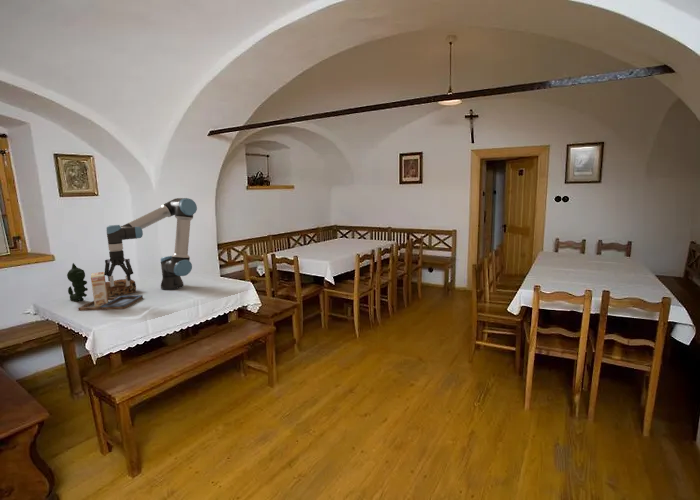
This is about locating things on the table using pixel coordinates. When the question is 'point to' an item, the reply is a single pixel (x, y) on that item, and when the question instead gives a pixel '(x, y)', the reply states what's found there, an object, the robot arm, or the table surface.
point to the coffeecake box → (99, 289)
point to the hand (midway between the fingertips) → (120, 286)
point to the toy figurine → (77, 283)
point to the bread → (120, 288)
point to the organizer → (114, 303)
